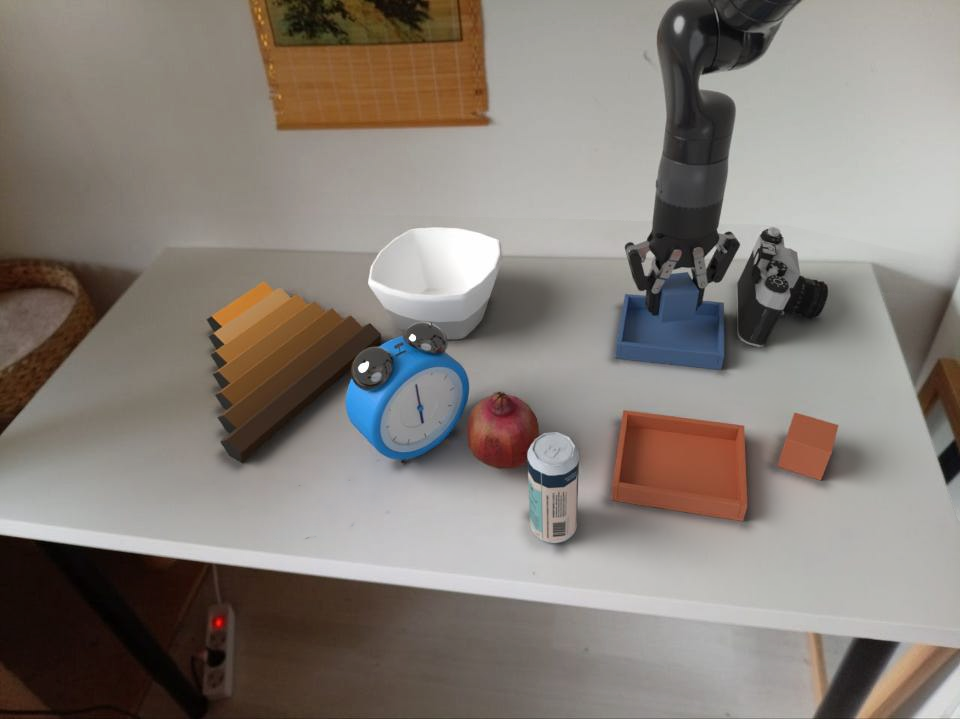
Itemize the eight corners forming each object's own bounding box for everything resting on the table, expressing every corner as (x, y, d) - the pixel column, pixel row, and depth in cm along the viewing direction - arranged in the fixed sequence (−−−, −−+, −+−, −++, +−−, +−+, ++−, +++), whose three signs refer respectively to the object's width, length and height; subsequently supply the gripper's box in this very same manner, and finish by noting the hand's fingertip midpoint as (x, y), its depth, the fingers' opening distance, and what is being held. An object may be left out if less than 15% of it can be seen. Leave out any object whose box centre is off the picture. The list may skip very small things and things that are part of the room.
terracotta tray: (740, 440, 77) (744, 425, 75) (743, 521, 69) (747, 506, 67) (621, 424, 80) (623, 409, 78) (611, 500, 72) (612, 485, 70)
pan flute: (245, 465, 79) (383, 346, 94) (236, 445, 77) (379, 326, 92) (121, 391, 91) (262, 296, 106) (110, 372, 89) (256, 277, 104)
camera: (813, 361, 88) (851, 300, 81) (729, 339, 89) (759, 278, 82) (804, 295, 98) (836, 237, 91) (729, 277, 100) (755, 218, 93)
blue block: (683, 299, 90) (687, 271, 88) (694, 319, 87) (699, 291, 84) (650, 303, 90) (654, 275, 87) (660, 323, 87) (664, 295, 84)
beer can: (585, 519, 70) (589, 440, 63) (562, 553, 67) (563, 475, 60) (544, 500, 73) (543, 421, 65) (521, 532, 70) (517, 454, 62)
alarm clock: (384, 482, 76) (358, 383, 66) (355, 451, 80) (328, 354, 70) (475, 424, 82) (464, 326, 72) (445, 398, 86) (431, 301, 76)
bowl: (413, 272, 108) (404, 220, 102) (519, 288, 103) (517, 234, 96) (360, 341, 96) (347, 285, 89) (479, 363, 90) (473, 306, 84)
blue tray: (720, 316, 94) (723, 302, 92) (721, 370, 86) (724, 355, 84) (623, 307, 97) (625, 293, 95) (615, 358, 89) (616, 343, 87)
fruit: (544, 434, 80) (543, 371, 73) (535, 489, 74) (533, 425, 67) (476, 429, 81) (469, 366, 75) (463, 482, 75) (454, 418, 69)
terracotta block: (827, 452, 75) (838, 424, 72) (820, 480, 72) (831, 453, 69) (785, 439, 77) (794, 412, 74) (777, 466, 74) (786, 439, 71)
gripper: (637, 211, 74) (625, 333, 85) (765, 197, 75) (737, 321, 86) (619, 181, 80) (611, 299, 91) (739, 168, 80) (716, 287, 92)
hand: (672, 309), depth 88 cm, fingers closed on blue block, 4 cm apart
